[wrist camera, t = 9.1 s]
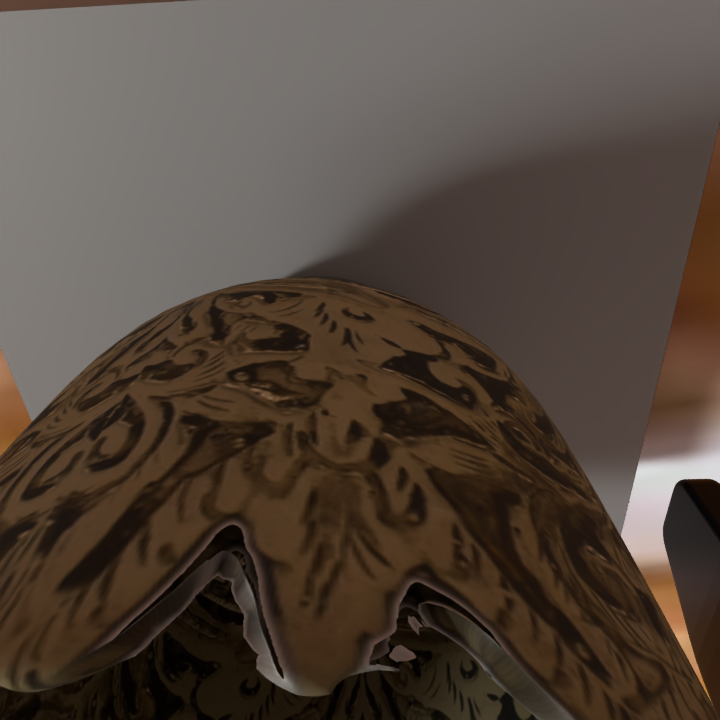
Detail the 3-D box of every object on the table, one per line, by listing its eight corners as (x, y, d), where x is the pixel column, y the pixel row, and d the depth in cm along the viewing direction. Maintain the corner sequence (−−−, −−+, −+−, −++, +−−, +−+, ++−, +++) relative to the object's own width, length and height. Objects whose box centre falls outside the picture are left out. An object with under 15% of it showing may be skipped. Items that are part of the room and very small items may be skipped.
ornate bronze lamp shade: (5, 205, 10) (-693, 819, 3) (511, 62, 9) (923, 587, 2) (205, 539, 14) (60, 1112, 8) (570, 472, 13) (777, 1086, 6)
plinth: (137, 479, 17) (98, 578, 15) (-25, -11, 11) (-139, 20, 9) (578, 467, 17) (612, 567, 14) (668, -53, 11) (756, -33, 8)
